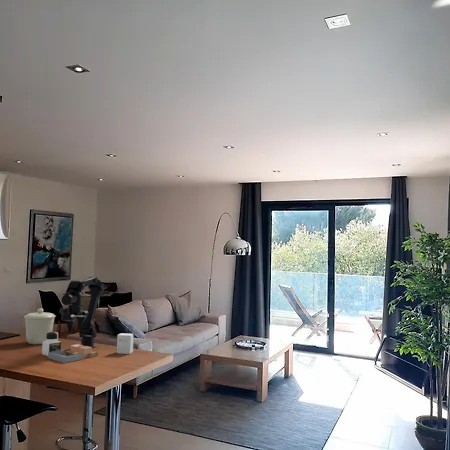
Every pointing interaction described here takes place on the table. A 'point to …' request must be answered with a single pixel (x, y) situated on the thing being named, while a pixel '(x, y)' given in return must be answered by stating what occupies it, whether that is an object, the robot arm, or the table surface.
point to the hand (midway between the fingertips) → (74, 330)
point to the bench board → (82, 354)
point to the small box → (124, 343)
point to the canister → (38, 326)
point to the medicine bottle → (51, 343)
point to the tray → (63, 356)
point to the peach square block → (85, 350)
